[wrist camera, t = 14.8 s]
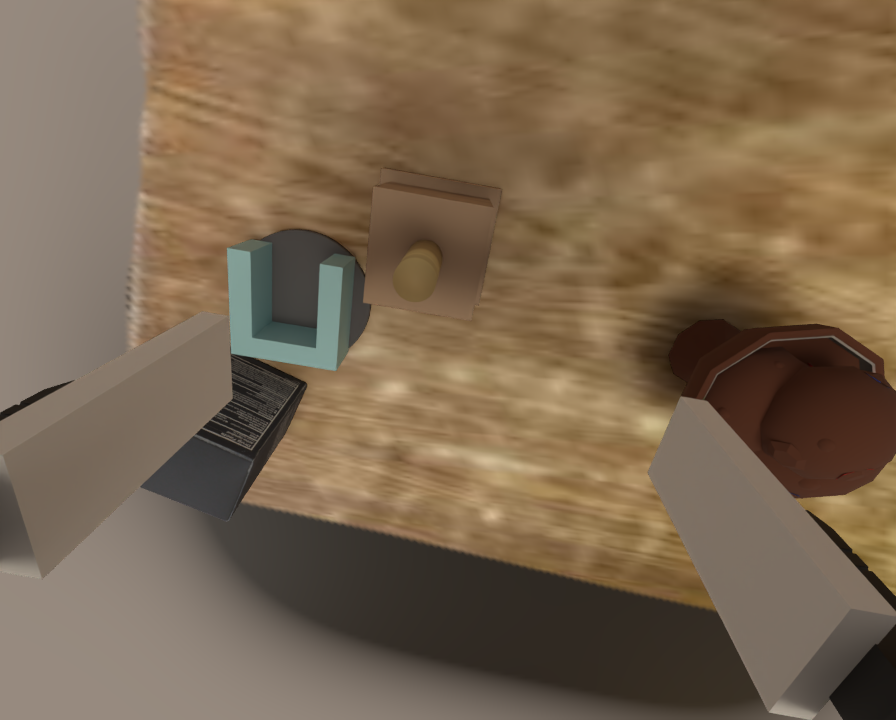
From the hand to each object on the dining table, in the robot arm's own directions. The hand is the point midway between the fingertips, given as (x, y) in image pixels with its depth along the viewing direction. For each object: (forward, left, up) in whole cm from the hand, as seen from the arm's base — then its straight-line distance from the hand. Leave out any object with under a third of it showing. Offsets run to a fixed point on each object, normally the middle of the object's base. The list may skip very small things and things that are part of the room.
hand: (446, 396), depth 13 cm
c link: (+5, -11, -21) cm, 24 cm away
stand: (-1, -2, -21) cm, 21 cm away
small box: (+14, -17, -22) cm, 30 cm away
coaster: (+5, -11, -21) cm, 24 cm away
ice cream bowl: (+4, +20, -21) cm, 30 cm away
